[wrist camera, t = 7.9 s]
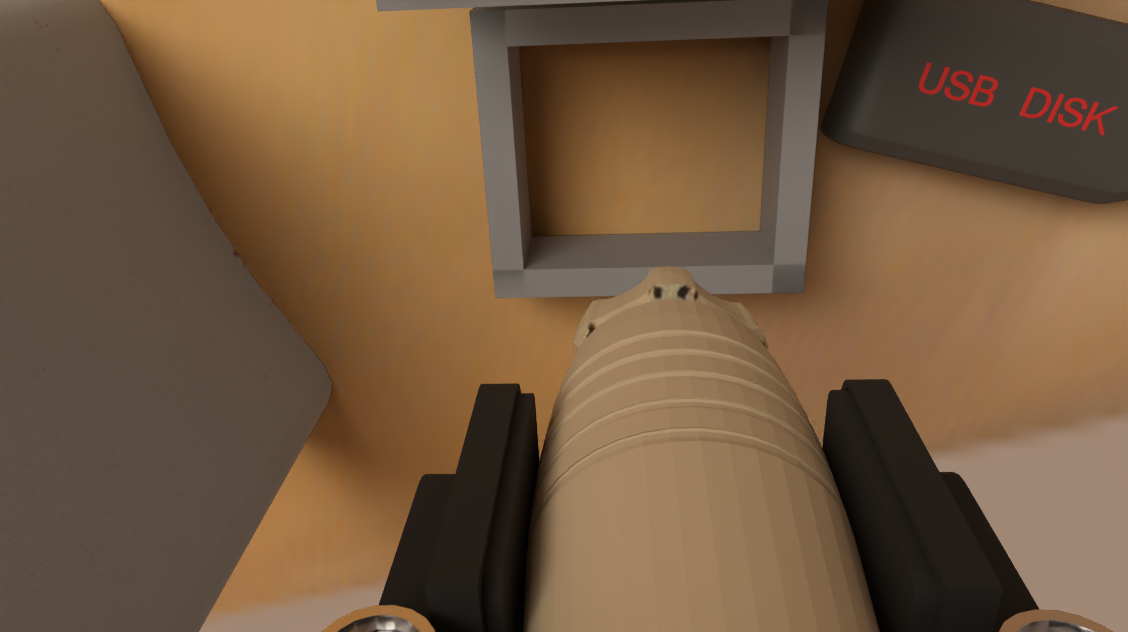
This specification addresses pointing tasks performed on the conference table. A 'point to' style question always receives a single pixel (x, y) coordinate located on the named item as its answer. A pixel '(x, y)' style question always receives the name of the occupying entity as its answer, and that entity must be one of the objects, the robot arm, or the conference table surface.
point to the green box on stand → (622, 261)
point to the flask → (124, 350)
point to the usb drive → (990, 93)
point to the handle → (685, 482)
